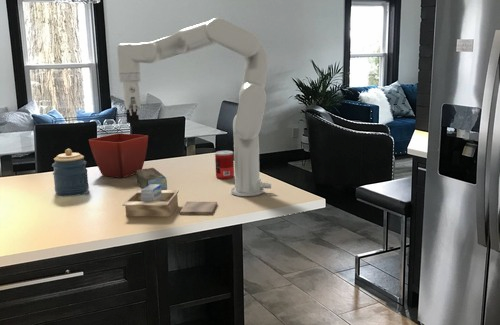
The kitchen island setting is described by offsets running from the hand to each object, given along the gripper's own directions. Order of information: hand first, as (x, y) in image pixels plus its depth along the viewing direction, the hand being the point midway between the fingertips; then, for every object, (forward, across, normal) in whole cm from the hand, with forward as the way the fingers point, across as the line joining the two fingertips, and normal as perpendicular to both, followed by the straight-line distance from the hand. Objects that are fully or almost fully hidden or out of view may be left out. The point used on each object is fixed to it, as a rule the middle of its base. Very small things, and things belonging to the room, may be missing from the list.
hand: (132, 124), depth 200 cm
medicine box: (+28, -20, -2) cm, 35 cm away
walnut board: (+28, -25, -18) cm, 41 cm away
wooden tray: (+28, -20, -2) cm, 34 cm away
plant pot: (+28, +42, +2) cm, 51 cm away
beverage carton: (+28, +13, -7) cm, 32 cm away
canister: (+28, +18, +23) cm, 41 cm away
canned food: (+28, +17, -40) cm, 52 cm away
